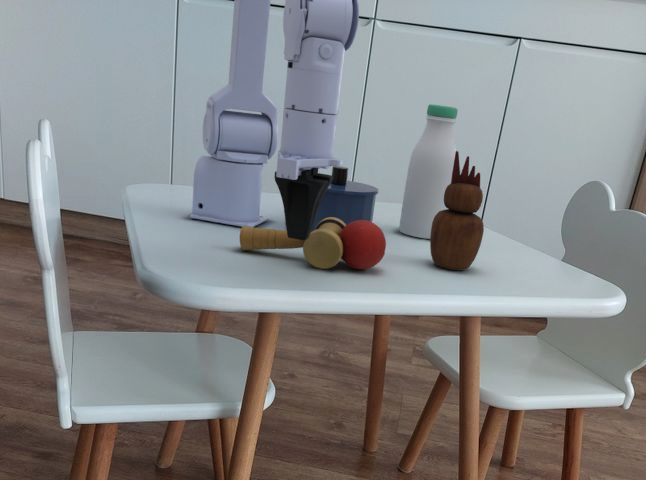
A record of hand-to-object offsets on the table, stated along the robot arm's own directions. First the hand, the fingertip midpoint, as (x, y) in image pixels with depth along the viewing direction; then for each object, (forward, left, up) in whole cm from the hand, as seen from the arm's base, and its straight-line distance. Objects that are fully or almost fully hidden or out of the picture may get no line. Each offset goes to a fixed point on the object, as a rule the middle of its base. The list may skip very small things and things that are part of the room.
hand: (297, 238), depth 77 cm
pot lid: (-2, +29, +2) cm, 29 cm away
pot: (-2, +29, -4) cm, 29 cm away
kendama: (0, +7, -4) cm, 9 cm away
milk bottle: (+11, +37, -4) cm, 39 cm away
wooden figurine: (+17, +17, -4) cm, 25 cm away
